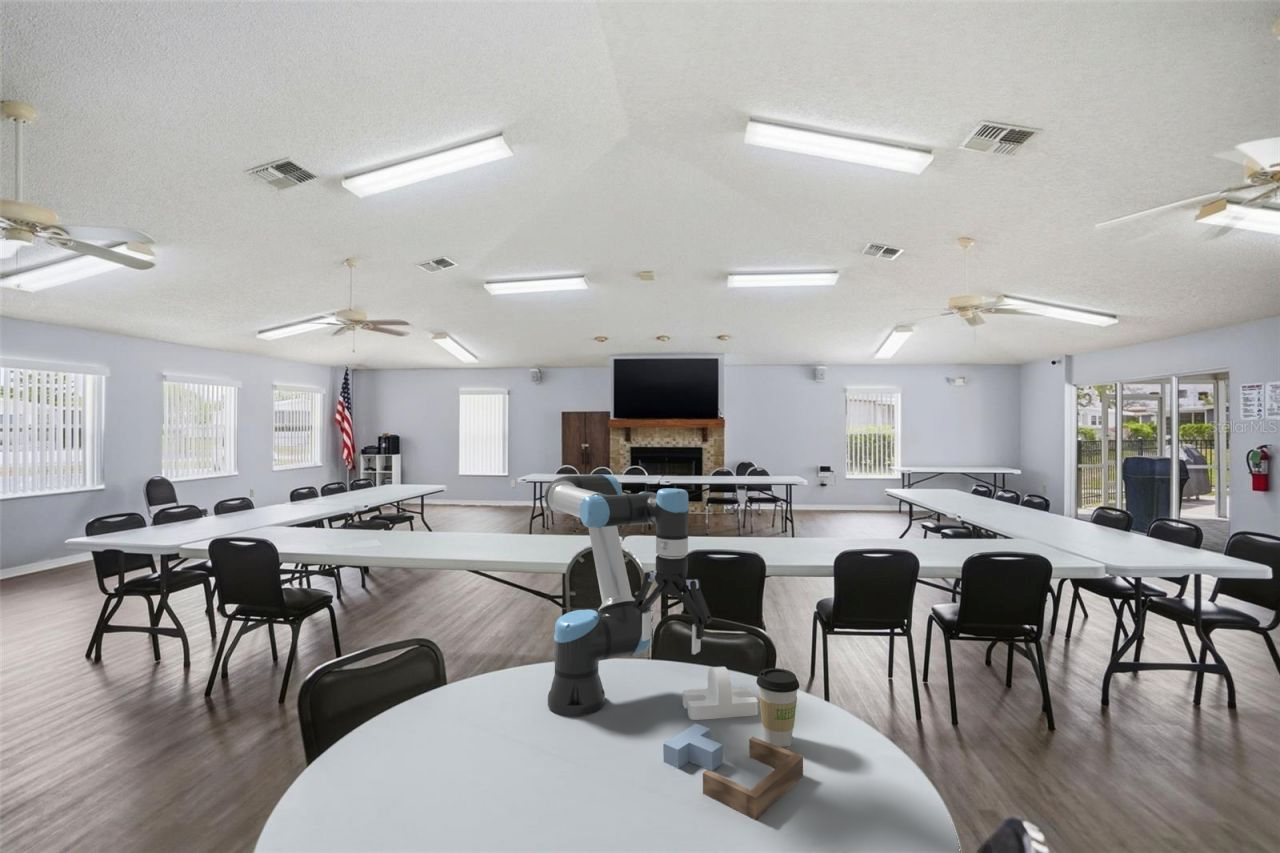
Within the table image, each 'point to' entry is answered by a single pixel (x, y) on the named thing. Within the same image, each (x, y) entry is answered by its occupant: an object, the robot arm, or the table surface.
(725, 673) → the white slotted block
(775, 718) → the coffee cup
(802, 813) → the table surface
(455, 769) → the table surface
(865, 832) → the table surface
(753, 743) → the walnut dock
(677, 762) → the t block
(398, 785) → the table surface
